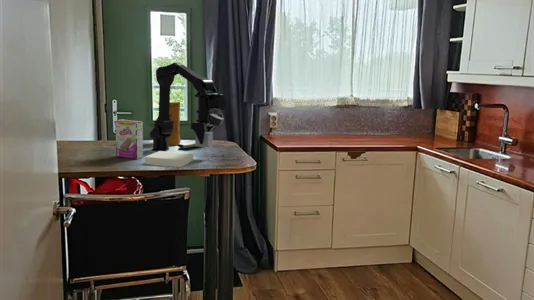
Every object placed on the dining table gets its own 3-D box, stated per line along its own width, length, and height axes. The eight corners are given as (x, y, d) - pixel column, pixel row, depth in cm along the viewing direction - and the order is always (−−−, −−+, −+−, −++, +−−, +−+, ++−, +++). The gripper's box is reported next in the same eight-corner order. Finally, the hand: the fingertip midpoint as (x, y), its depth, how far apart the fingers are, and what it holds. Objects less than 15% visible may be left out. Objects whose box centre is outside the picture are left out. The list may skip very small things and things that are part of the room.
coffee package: (158, 141, 247) (158, 100, 243) (181, 142, 247) (182, 101, 243) (154, 145, 237) (154, 102, 233) (179, 146, 238) (179, 102, 234)
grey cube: (195, 146, 207) (195, 132, 206) (200, 143, 213) (200, 130, 212) (208, 147, 206) (208, 133, 205) (212, 145, 212) (212, 131, 210)
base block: (145, 163, 196) (145, 156, 196) (159, 157, 210) (159, 150, 209) (180, 167, 193) (180, 160, 192) (193, 160, 206) (193, 153, 206)
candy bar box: (115, 157, 207) (114, 120, 204) (122, 155, 211) (121, 119, 208) (137, 159, 203) (136, 122, 200) (143, 157, 208) (143, 121, 205)
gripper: (215, 111, 196) (214, 147, 199) (228, 107, 213) (227, 140, 216) (190, 109, 198) (189, 145, 201) (205, 105, 216) (204, 139, 219)
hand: (204, 142), depth 209 cm, fingers closed on grey cube, 6 cm apart
